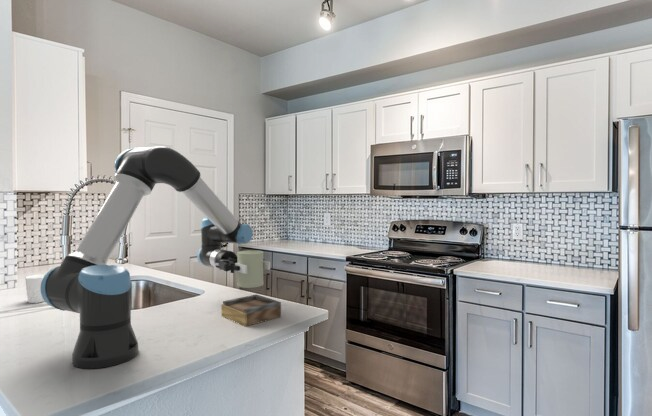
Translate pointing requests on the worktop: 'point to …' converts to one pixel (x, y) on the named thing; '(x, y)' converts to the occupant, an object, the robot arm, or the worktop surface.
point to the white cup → (34, 288)
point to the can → (251, 268)
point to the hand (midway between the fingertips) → (258, 267)
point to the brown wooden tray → (251, 309)
